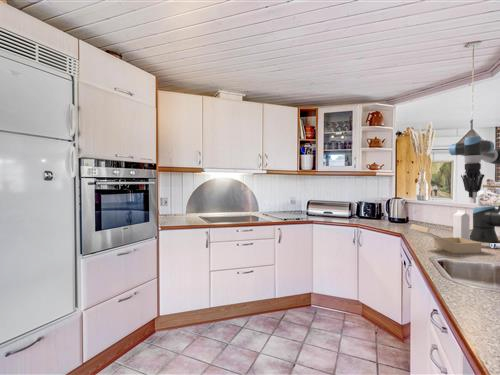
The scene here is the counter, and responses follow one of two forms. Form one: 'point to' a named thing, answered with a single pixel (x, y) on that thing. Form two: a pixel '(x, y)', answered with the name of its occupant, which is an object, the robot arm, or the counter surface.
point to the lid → (426, 230)
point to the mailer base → (458, 245)
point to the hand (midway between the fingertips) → (472, 202)
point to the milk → (461, 224)
